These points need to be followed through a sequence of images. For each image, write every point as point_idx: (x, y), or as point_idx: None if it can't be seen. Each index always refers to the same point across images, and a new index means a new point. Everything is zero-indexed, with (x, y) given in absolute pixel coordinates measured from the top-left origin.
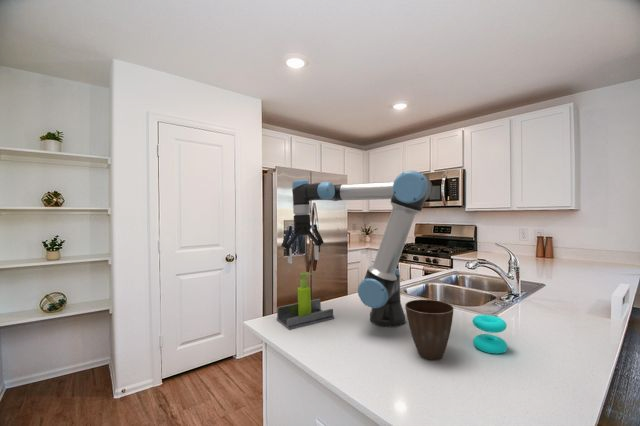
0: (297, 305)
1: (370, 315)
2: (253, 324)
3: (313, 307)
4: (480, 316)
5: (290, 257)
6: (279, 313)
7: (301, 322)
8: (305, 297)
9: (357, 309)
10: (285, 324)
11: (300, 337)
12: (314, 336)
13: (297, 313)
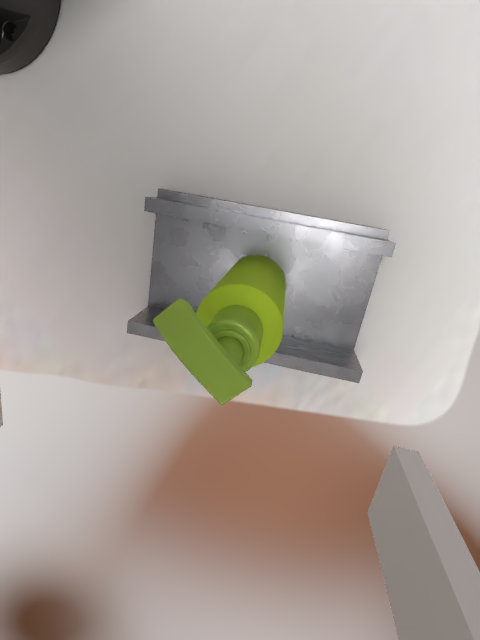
0: None
1: (34, 15)
2: (444, 391)
3: None
4: None
5: (454, 527)
6: (351, 357)
7: (322, 227)
8: (262, 277)
9: (11, 204)
10: (376, 273)
11: (413, 118)
12: (362, 79)
13: None
